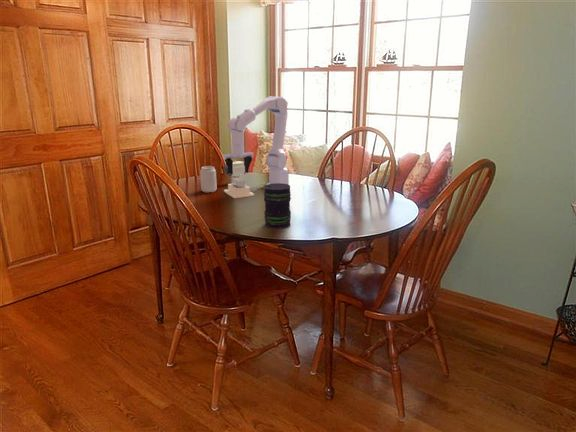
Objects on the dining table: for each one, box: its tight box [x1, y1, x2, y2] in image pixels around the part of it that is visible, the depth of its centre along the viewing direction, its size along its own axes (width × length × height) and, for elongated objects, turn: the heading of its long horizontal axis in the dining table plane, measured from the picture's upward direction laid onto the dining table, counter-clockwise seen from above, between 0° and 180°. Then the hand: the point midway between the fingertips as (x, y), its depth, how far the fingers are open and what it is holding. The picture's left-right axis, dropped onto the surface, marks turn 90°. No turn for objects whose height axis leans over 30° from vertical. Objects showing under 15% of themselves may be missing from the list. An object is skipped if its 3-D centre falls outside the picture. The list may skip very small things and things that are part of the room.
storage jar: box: [263, 183, 292, 230], centre depth 177 cm, size 10×10×15 cm
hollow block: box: [223, 183, 255, 199], centre depth 225 cm, size 10×14×4 cm
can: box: [199, 165, 218, 194], centre depth 229 cm, size 8×8×12 cm
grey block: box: [231, 177, 246, 188], centre depth 224 cm, size 4×8×6 cm, turn 27°
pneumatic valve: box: [223, 159, 246, 183], centre depth 245 cm, size 6×12×12 cm, turn 126°
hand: (239, 173), depth 223 cm, fingers open, 7 cm apart
